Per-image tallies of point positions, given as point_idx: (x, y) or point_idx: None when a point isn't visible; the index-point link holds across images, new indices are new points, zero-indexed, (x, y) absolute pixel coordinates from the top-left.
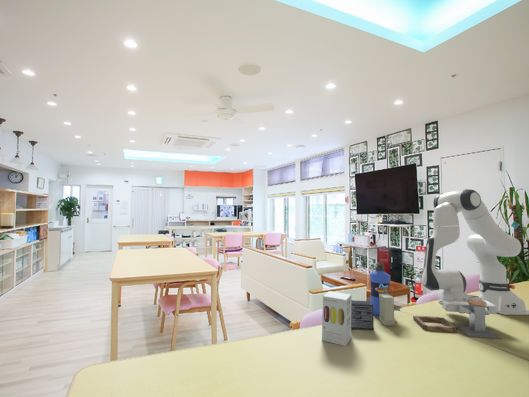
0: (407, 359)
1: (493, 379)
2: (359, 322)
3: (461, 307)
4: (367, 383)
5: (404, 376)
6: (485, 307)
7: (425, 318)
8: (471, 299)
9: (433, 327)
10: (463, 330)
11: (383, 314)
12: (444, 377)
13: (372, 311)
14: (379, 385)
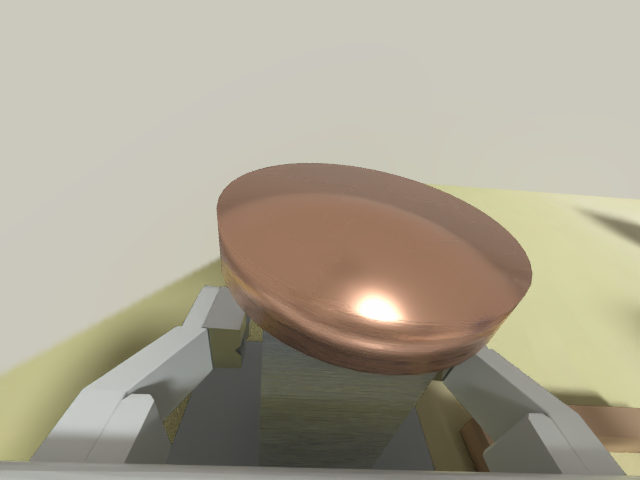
0: (541, 229)
1: None
2: None
3: (544, 391)
4: (551, 199)
5: (519, 203)
6: (35, 454)
7: None
8: (450, 295)
9: (613, 411)
10: (414, 433)
11: None
12: (467, 199)
13: None
14: (536, 196)
